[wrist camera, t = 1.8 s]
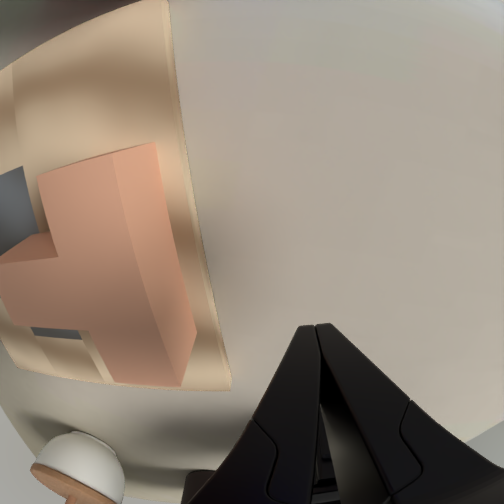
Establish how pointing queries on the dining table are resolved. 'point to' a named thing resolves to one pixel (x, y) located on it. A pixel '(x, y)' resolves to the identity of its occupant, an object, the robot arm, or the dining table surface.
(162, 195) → the t block
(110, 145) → the board
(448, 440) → the robot arm
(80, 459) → the lidded jar
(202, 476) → the bottle
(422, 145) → the dining table surface
